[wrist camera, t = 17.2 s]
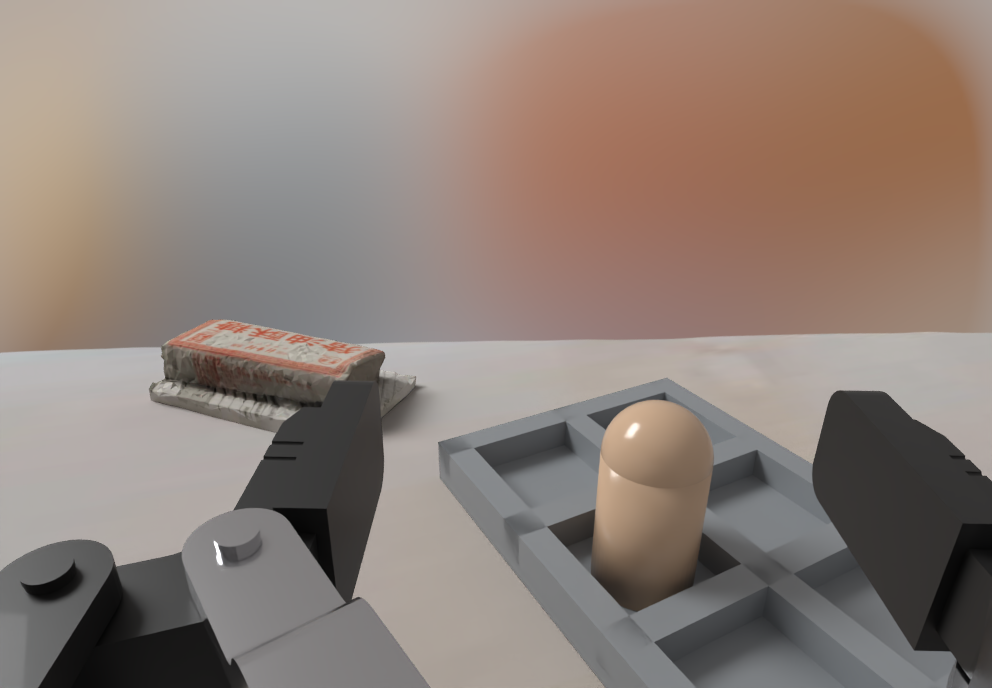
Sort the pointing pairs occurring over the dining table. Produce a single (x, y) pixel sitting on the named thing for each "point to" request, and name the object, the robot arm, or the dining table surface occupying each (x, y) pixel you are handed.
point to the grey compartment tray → (720, 566)
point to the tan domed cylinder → (650, 503)
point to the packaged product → (265, 373)
